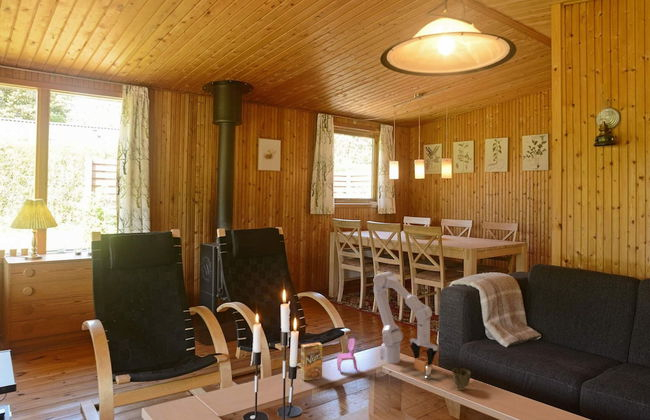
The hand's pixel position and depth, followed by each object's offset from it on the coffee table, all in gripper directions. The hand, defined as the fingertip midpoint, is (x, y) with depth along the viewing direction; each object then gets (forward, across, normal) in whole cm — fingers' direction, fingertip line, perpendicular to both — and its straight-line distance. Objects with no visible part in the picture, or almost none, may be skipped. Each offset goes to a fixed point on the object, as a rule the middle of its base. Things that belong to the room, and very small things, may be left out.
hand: (423, 361), depth 215 cm
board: (+4, +4, -4) cm, 7 cm away
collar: (+3, 0, 0) cm, 3 cm away
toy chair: (+4, -22, -28) cm, 36 cm away
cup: (+5, +23, -4) cm, 24 cm away
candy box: (+4, -26, -46) cm, 53 cm away
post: (+4, +8, -6) cm, 11 cm away
